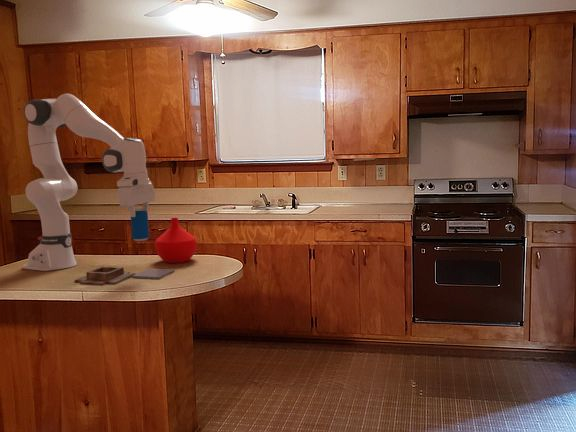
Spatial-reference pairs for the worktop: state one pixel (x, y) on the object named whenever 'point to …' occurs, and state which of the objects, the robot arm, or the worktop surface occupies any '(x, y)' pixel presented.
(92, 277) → the socket
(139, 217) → the beverage can
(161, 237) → the vase
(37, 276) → the worktop surface
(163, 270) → the coaster
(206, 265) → the worktop surface
